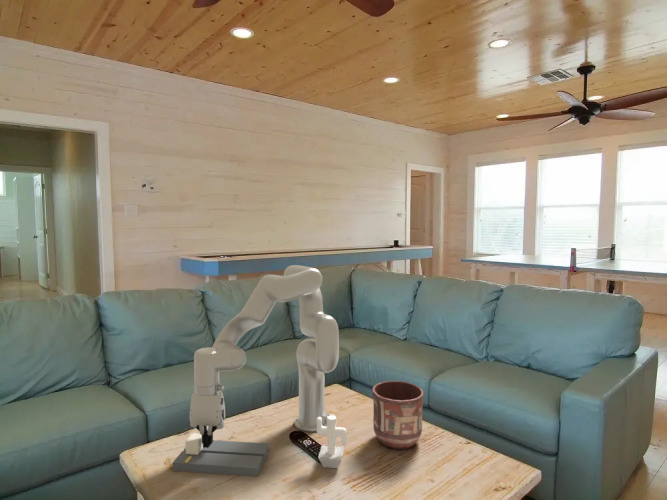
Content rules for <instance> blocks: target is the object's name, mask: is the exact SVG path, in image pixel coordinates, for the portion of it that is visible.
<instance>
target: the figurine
mask: <svg viewBox="0 0 667 500" xmlns="http://www.w3.org/2000/svg"><path fill="white" fill-rule="evenodd" d="M327 423H328V426H322V418H321V417H318V418H317V431H316V434H317V435H318V436H319V437H320V436H321V437H322V436H323V437H327V445H324V444H323V445H321V446H320V449H319V450H320V451H319V453H318V457H317V458H318V459H319V462H320V464H321V465H322V467H323V468H330V469H331V468H332V469H338V468H339V466H340V464H341V462H342V460H343V455H344V450H345V447H346V446H347V445H348V432H347V429H346V428H345V427H339V426H338V427H337V416H336V415H335V414H334V415H329V416H328V417H327ZM336 437H337V438H341V446H336V445H337V444H336V443H337V442H336V440H337V439H336Z"/></svg>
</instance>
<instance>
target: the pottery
mask: <svg viewBox="0 0 667 500" xmlns="http://www.w3.org/2000/svg"><path fill="white" fill-rule="evenodd" d="M371 391H372V401H373V402H372V403H373V404H372V405H373V416H372V419H373V420H372V423H373V425H372V426H373V431H374V434H375V436H376V438H377V440H379V442H380V443H381V444H382V445H383V446H385V447H387V448H389V449H393V450H407V449H410V448H412V447H413V446H414V445H415V444H416V443H417V442H419V440H420V438H421V436H422V432H423V405H424V404H423V403H424V397H425V394H424V393H425V392H424V390H423V388H421V387H419V386H418V385H416V384H414V383H411V382H407V381H401V380H389V381H383V382H379V383H376V384H375V385H374V386H373V387H372V390H371Z"/></svg>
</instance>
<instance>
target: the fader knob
mask: <svg viewBox="0 0 667 500" xmlns="http://www.w3.org/2000/svg"><path fill="white" fill-rule="evenodd" d="M184 444H185V445H184V448H185V447H186V454H195V455H198V454H199V453H200V451H201V450H202V449H203V443H202V435H201V434H200V433H194V432H193V433H191V434H190V436H189V437H188V438H187V439H186V440H185V442H184Z"/></svg>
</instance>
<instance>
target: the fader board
mask: <svg viewBox="0 0 667 500" xmlns="http://www.w3.org/2000/svg"><path fill="white" fill-rule="evenodd" d="M269 452H270V442H269V443H268V442H267V443H266V442H265V443H264V442H251V441H250V442H249V441H236V440H235V441H233V440H232V441H231V440H218V439H217V440H215V439H213V443H212V444H211V445H210V446H209V448H206V447H205V448H203V449H202V450H201V451H200V453H199V454H198V455H195V454H186V447H185V446H184V449H183V451H181V452H180V453H179V454H178V456H177V457H176V458H175V459H174V460H173V462H172V464H171V465H172V471H173V472H189V473H199V474H200V473H201V474H204V473H205V474H217V475H229V476H230V475H231V476H232V475H233V476H244V477H245V476H246V477H247V476H248V477H258V475H259V473H260V472H261V469H262V468H263V466H264V463H265V461H266V458H267V457H268V454H269Z"/></svg>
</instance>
